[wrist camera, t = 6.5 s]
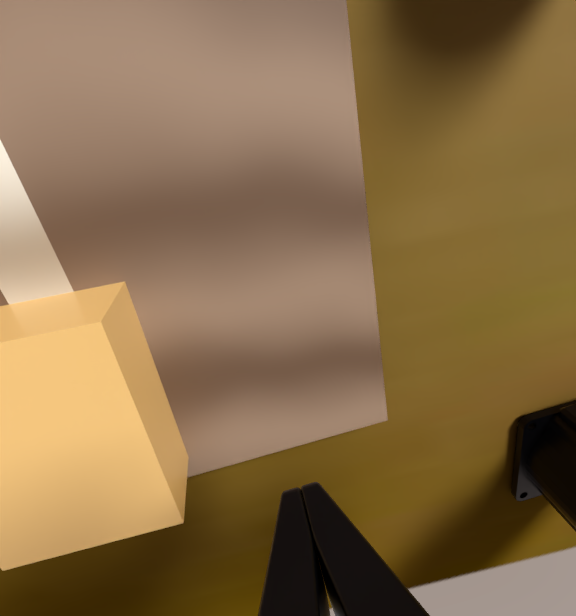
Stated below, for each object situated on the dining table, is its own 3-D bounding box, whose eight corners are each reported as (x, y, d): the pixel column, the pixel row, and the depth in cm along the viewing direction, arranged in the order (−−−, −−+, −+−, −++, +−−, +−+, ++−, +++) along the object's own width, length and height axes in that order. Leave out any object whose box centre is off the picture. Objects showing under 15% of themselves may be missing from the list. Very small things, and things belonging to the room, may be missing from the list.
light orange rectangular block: (188, 457, 16) (183, 523, 13) (39, 494, 15) (2, 570, 13) (124, 281, 12) (100, 322, 10) (-71, 320, 12) (-154, 374, 9)
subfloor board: (374, 399, 18) (387, 420, 17) (-9, 506, 17) (-27, 538, 16) (304, -211, 10) (319, -266, 8) (-495, -96, 8) (-634, -141, 7)
